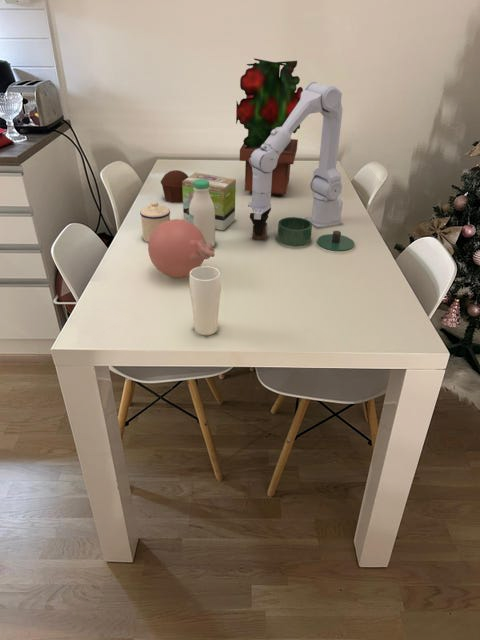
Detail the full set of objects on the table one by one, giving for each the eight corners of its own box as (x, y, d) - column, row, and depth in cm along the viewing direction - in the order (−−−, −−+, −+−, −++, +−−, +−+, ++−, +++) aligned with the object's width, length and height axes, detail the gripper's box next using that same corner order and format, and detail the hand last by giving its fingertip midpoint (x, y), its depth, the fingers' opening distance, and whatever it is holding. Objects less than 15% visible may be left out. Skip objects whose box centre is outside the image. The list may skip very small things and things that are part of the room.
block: (254, 233, 158) (254, 221, 156) (266, 234, 158) (267, 222, 155) (252, 238, 155) (252, 226, 153) (264, 239, 154) (265, 227, 152)
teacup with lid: (167, 245, 150) (164, 209, 144) (138, 242, 151) (134, 206, 145) (177, 229, 160) (175, 195, 154) (150, 227, 161) (147, 192, 155)
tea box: (182, 223, 164) (180, 180, 156) (196, 213, 172) (195, 171, 164) (224, 231, 160) (224, 187, 151) (235, 220, 167) (236, 177, 159)
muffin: (190, 204, 179) (189, 177, 173) (159, 203, 178) (157, 176, 173) (193, 193, 188) (192, 167, 183) (164, 192, 188) (162, 166, 183)
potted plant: (234, 197, 185) (237, 64, 160) (244, 179, 203) (247, 57, 178) (293, 202, 183) (305, 67, 157) (297, 183, 201) (308, 59, 175)
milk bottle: (218, 242, 153) (218, 178, 142) (209, 252, 147) (208, 187, 136) (196, 238, 155) (194, 175, 144) (186, 248, 149) (183, 183, 138)
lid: (353, 239, 157) (355, 226, 155) (353, 254, 148) (356, 241, 145) (317, 235, 159) (319, 223, 156) (315, 251, 149) (317, 238, 147)
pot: (311, 235, 158) (313, 218, 155) (309, 249, 150) (311, 232, 147) (279, 232, 160) (280, 215, 157) (275, 246, 151) (276, 228, 148)
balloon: (193, 299, 124) (191, 244, 116) (138, 275, 134) (133, 222, 126) (230, 277, 135) (231, 224, 126) (177, 256, 145) (174, 206, 136)
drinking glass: (203, 318, 118) (202, 262, 109) (226, 328, 115) (226, 271, 106) (185, 331, 113) (182, 274, 105) (208, 342, 110) (207, 283, 101)
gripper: (252, 181, 154) (251, 222, 162) (244, 197, 142) (243, 240, 150) (274, 183, 153) (272, 224, 161) (268, 199, 141) (266, 242, 149)
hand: (259, 232), depth 155 cm, fingers closed on block, 4 cm apart
